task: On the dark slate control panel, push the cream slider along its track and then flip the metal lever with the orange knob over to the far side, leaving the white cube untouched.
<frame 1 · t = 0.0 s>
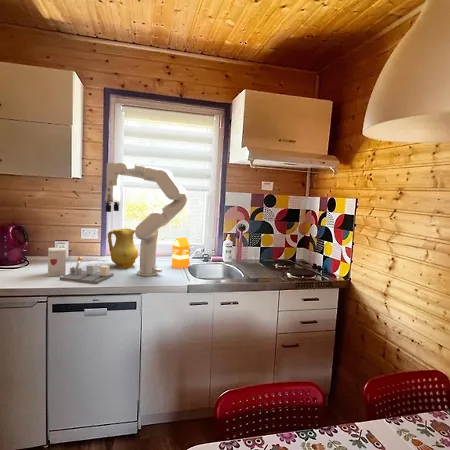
hand: (112, 211, 210), 37 cm above the counter, tool pointing down, fingers open, 9 cm apart
lever: (77, 264, 196), point 7 cm above the counter, hinge at 30.0°
pitcher: (123, 266, 226), on the counter
orange juice: (180, 266, 234), on the counter
cream slider: (104, 270, 195), point 4 cm above the counter, slide at 0.0 cm
panel: (87, 277, 193), on the counter
white cube: (91, 269, 196), point 4 cm above the counter, slide at 0.0 cm
supplement box: (56, 274, 198), on the counter
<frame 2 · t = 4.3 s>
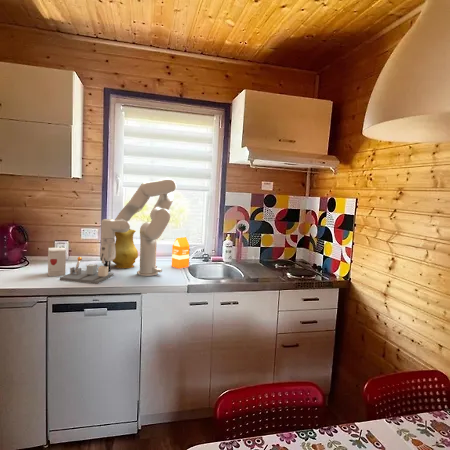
hand: (107, 272, 198), 3 cm above the counter, tool pointing down, fingers closed
cream slider: (103, 271, 193), point 4 cm above the counter, slide at 1.4 cm, touching gripper
everything else where it was.
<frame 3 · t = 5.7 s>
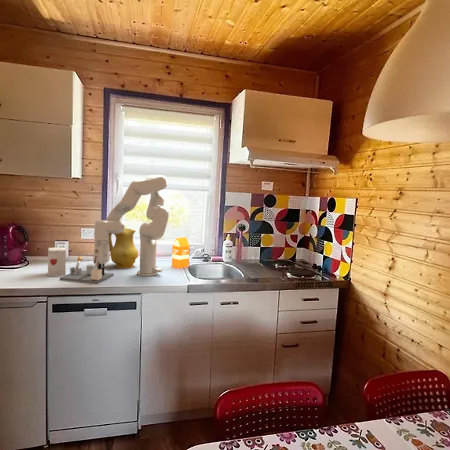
hand: (100, 275, 191), 3 cm above the counter, tool pointing down, fingers closed
cream slider: (96, 274, 186), point 4 cm above the counter, slide at 8.7 cm, touching gripper
everything else where it was.
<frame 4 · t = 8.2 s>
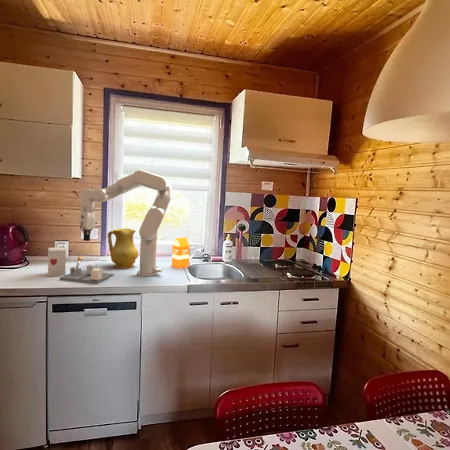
hand: (86, 240, 203), 19 cm above the counter, tool pointing down, fingers closed
cream slider: (96, 274, 186), point 4 cm above the counter, slide at 8.7 cm
everything else where it was.
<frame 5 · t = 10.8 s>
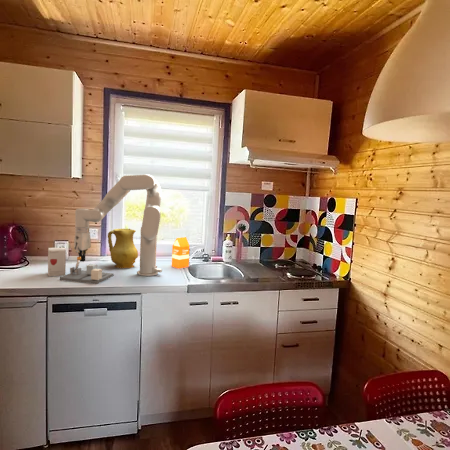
hand: (82, 261, 200), 8 cm above the counter, tool pointing down, fingers closed
lever: (77, 264, 196), point 7 cm above the counter, hinge at 24.7°, touching gripper
everything else where it was.
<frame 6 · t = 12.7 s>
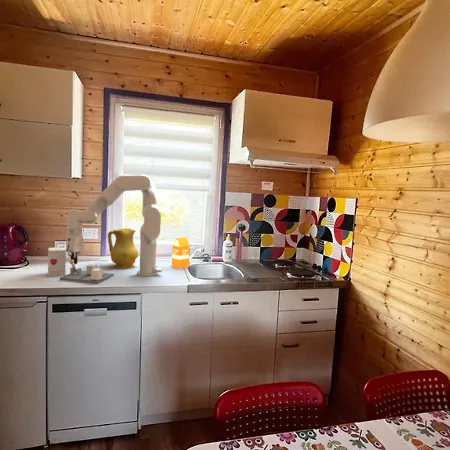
hand: (73, 263, 193), 8 cm above the counter, tool pointing down, fingers closed
lever: (73, 266, 192), point 7 cm above the counter, hinge at -30.8°, touching gripper
everything else where it was.
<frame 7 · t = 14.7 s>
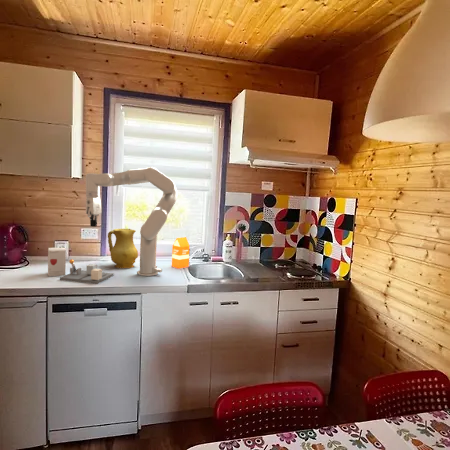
hand: (93, 226, 201), 28 cm above the counter, tool pointing down, fingers closed
lever: (73, 266, 192), point 7 cm above the counter, hinge at -30.9°
everything else where it was.
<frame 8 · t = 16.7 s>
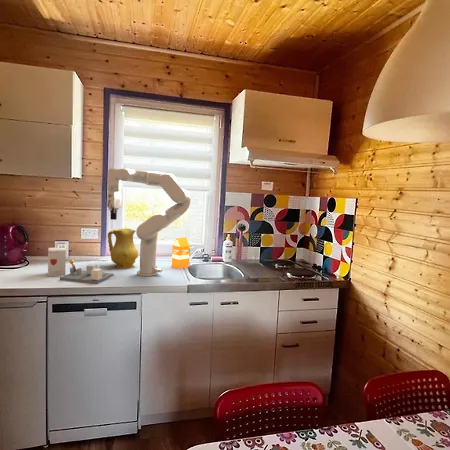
hand: (113, 219, 208), 32 cm above the counter, tool pointing down, fingers closed
nothing on the counter moved.
at the end: cream slider slide at 8.7 cm; lever at -31° (first picture: +30°); white cube slide at 0.0 cm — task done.
